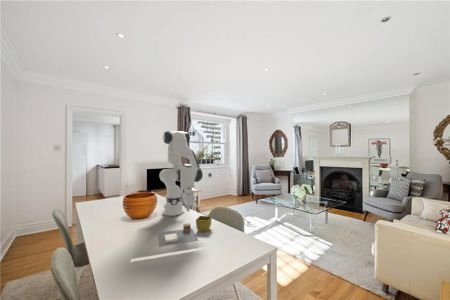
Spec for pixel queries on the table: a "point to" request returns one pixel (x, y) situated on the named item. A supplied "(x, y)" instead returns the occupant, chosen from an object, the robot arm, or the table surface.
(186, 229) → the walnut block
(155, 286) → the table surface
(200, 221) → the flower pot
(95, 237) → the table surface
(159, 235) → the board
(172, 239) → the tile
